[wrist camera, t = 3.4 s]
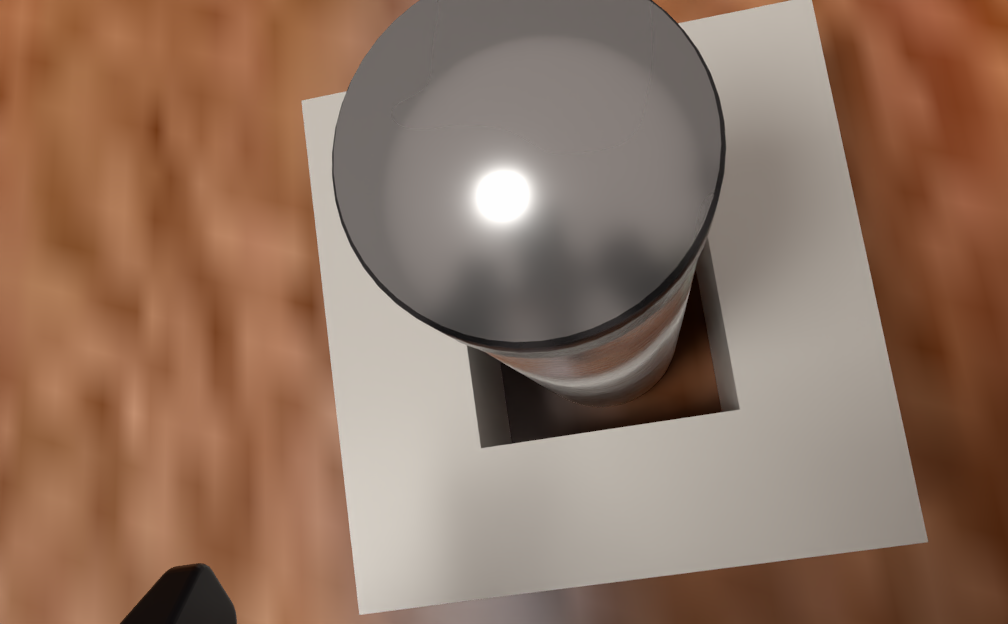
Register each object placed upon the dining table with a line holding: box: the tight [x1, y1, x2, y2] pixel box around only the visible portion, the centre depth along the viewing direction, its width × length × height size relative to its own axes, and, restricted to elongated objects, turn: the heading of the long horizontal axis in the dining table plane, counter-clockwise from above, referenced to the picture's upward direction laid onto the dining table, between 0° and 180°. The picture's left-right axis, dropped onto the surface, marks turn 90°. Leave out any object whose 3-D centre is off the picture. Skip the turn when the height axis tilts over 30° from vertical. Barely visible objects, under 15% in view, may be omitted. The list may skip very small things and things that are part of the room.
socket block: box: [302, 0, 928, 615], centre depth 19 cm, size 10×10×4 cm
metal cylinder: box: [332, 0, 726, 407], centre depth 15 cm, size 4×4×13 cm
